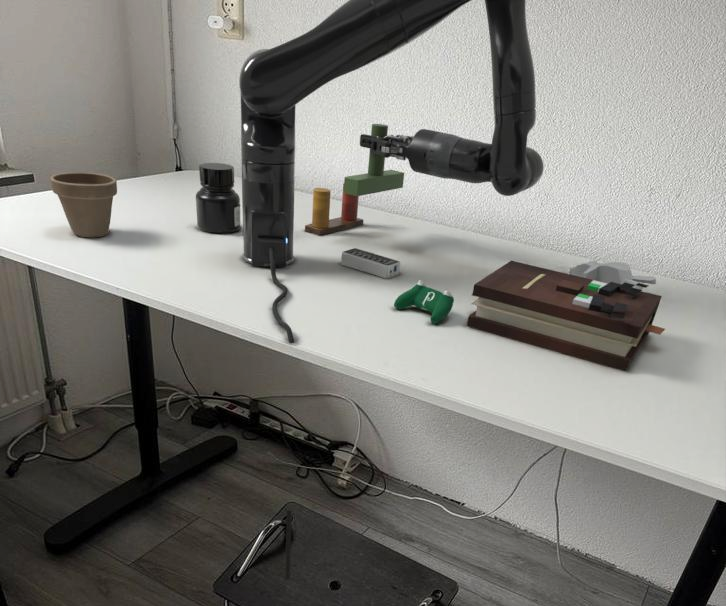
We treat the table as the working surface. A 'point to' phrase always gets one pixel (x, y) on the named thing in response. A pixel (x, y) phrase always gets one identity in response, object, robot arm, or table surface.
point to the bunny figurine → (610, 273)
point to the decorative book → (566, 313)
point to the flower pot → (86, 201)
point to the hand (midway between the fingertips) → (367, 139)
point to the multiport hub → (370, 263)
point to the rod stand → (321, 213)
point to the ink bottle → (217, 199)
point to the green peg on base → (374, 173)
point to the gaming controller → (426, 301)
